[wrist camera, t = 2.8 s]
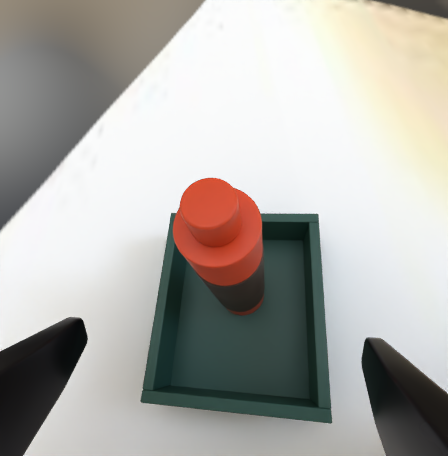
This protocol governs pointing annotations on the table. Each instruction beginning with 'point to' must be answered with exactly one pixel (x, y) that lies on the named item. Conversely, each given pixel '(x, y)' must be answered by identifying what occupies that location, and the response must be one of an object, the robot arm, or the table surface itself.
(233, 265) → the crayon
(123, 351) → the table surface
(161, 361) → the crayon tray
